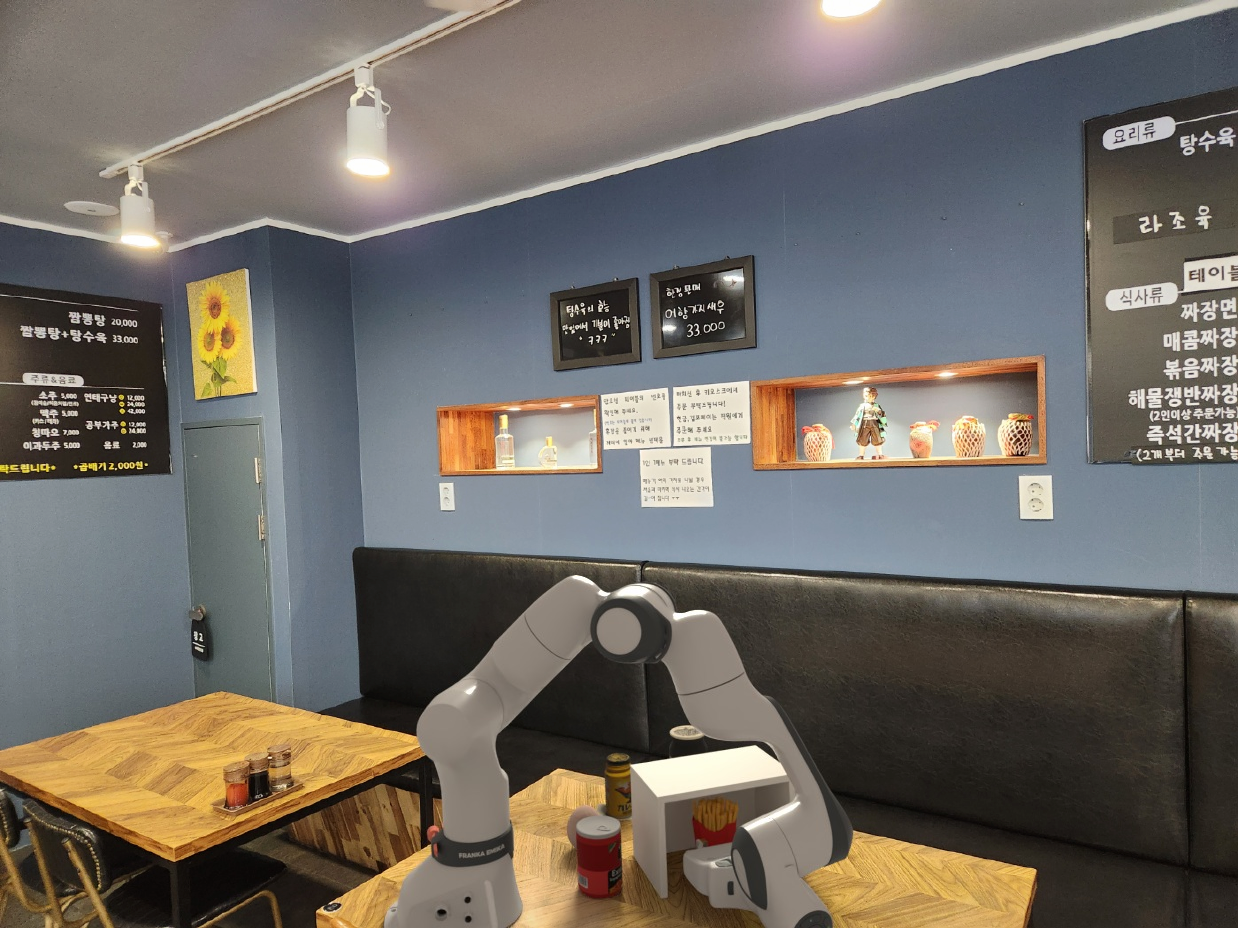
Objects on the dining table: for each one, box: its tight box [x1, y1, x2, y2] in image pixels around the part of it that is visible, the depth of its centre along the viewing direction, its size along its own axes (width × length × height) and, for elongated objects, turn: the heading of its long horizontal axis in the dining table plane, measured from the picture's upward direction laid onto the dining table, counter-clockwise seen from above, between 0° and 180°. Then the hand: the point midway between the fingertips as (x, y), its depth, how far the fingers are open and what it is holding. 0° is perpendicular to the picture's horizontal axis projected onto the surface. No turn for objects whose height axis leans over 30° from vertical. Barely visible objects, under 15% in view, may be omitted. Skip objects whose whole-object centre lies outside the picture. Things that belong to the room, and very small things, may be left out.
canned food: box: [576, 816, 624, 900], centre depth 132 cm, size 8×8×11 cm
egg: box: [566, 804, 600, 850], centre depth 146 cm, size 7×7×8 cm
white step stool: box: [630, 744, 796, 899], centre depth 139 cm, size 26×15×17 cm, turn 107°
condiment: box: [596, 752, 632, 821], centre depth 161 cm, size 7×8×12 cm
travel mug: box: [668, 725, 709, 759], centre depth 158 cm, size 8×8×18 cm
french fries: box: [692, 797, 738, 849], centre depth 138 cm, size 8×4×12 cm, turn 78°
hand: (724, 838), depth 134 cm, fingers open, 8 cm apart
